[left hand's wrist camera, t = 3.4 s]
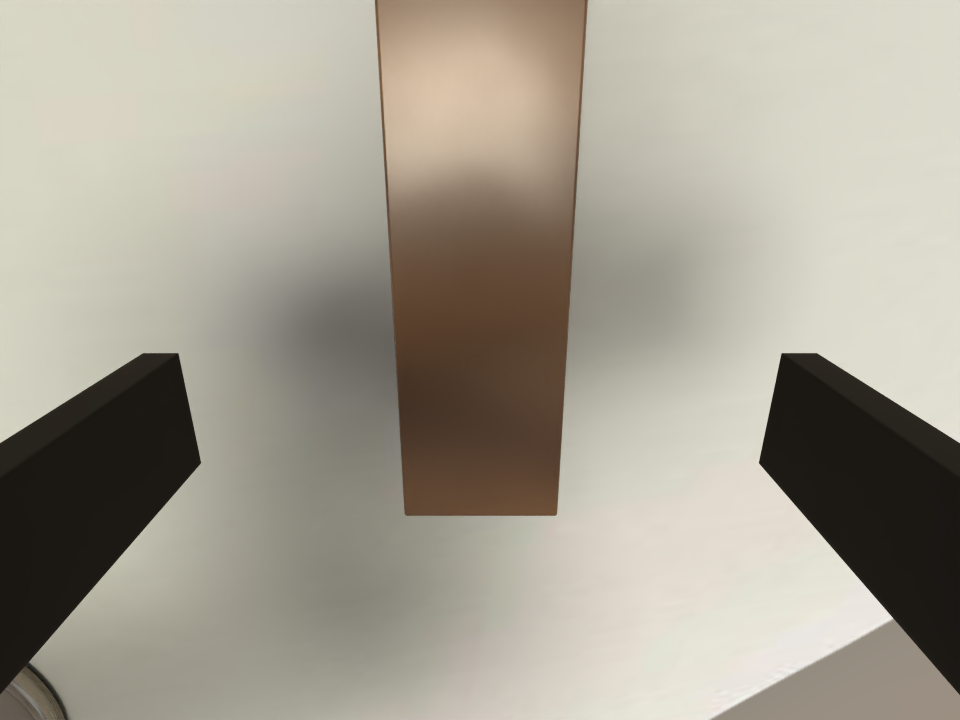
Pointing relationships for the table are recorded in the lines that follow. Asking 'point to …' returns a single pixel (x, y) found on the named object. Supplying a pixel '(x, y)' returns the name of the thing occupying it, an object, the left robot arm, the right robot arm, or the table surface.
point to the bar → (481, 243)
